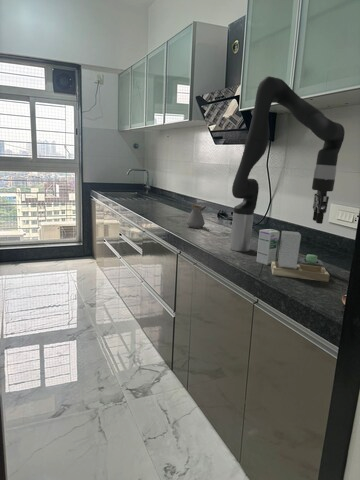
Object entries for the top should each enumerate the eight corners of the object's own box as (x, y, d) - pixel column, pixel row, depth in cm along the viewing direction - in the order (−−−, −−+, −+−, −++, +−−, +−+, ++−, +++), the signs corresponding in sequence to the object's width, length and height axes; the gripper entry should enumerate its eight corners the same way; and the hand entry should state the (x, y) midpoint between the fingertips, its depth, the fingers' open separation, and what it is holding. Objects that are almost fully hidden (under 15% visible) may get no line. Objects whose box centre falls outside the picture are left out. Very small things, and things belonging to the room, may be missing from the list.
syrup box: (266, 267, 139) (271, 231, 136) (255, 263, 144) (259, 229, 141) (276, 266, 143) (280, 231, 140) (264, 262, 147) (269, 228, 144)
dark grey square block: (297, 266, 144) (299, 257, 143) (318, 269, 143) (319, 259, 142) (300, 272, 136) (302, 262, 135) (322, 275, 135) (324, 265, 134)
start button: (304, 264, 141) (305, 253, 140) (314, 265, 141) (316, 255, 140) (305, 267, 137) (307, 256, 137) (316, 268, 137) (318, 257, 136)
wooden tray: (270, 270, 136) (271, 261, 135) (322, 276, 133) (323, 267, 132) (272, 278, 127) (273, 268, 126) (327, 284, 123) (329, 274, 123)
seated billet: (276, 269, 134) (281, 230, 131) (293, 271, 133) (298, 232, 130) (278, 273, 128) (283, 233, 125) (295, 275, 127) (301, 235, 124)
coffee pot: (183, 225, 222) (185, 201, 219) (200, 225, 225) (202, 202, 222) (194, 232, 202) (196, 206, 199) (212, 232, 205) (215, 206, 202)
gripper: (310, 176, 139) (304, 218, 143) (317, 177, 125) (310, 223, 129) (330, 178, 138) (323, 220, 142) (339, 179, 124) (331, 225, 128)
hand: (317, 221), depth 135 cm, fingers open, 6 cm apart
